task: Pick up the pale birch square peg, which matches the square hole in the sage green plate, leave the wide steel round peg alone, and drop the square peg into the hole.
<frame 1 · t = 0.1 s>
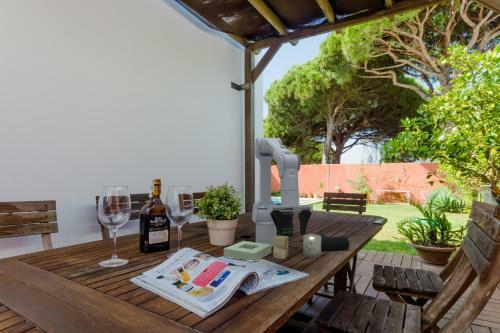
hand: (291, 235, 93), 10 cm above the table, tool pointing down, fingers open, 7 cm apart
square peg: (280, 256, 107), on the table
round peg: (311, 255, 110), on the table
storage jar: (282, 235, 144), on the table
pipe connector: (324, 248, 121), on the table
hole plate: (248, 254, 109), on the table
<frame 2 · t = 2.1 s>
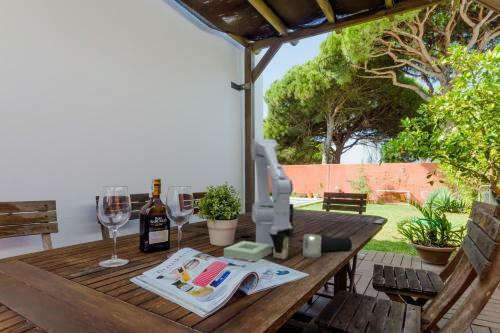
hand: (280, 251, 107), 2 cm above the table, tool pointing down, fingers closed on square peg, 4 cm apart
square peg: (280, 256, 107), on the table, touching gripper
pipe connector: (326, 249, 120), on the table
everything else where it was.
when the fingers open (4 cm above the table, at t = 5.7 s): square peg drops 2 cm, resting in hole plate.
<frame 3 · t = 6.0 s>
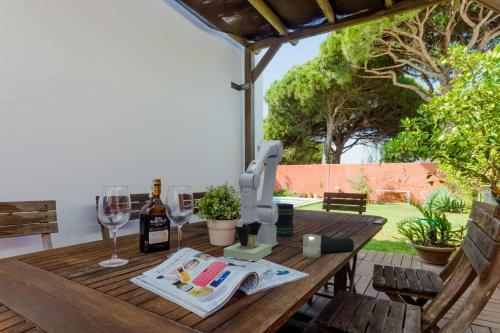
hand: (248, 244, 109), 4 cm above the table, tool pointing down, fingers open, 6 cm apart
square peg: (248, 255, 108), resting in hole plate
pipe connector: (328, 250, 118), on the table
everything else where it was.
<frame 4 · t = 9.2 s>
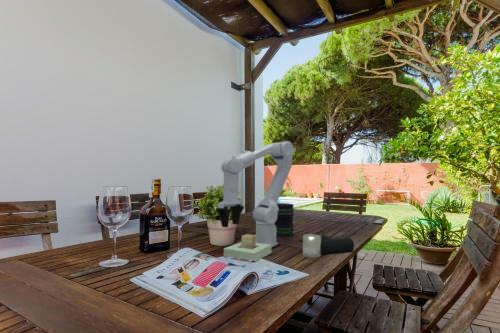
hand: (230, 225, 115), 9 cm above the table, tool pointing down, fingers open, 7 cm apart
at the end: square peg 0.2 cm off-centre on the hole plate, point 0.0 cm above the hole plate's base; square peg tilted 0°; round peg moved 0.2 cm from its start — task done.
